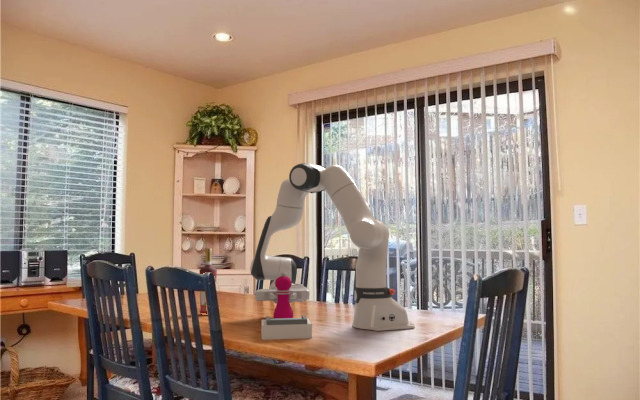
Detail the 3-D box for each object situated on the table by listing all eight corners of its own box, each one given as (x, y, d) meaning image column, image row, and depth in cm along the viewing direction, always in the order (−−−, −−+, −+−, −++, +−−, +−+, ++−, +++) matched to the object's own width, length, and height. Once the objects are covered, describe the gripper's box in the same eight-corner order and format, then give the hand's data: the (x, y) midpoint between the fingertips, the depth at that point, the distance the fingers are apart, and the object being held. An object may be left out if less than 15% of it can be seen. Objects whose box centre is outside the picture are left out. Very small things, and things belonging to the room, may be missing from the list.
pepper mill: (296, 326, 174) (296, 271, 175) (288, 330, 167) (288, 272, 169) (278, 325, 176) (278, 271, 178) (269, 328, 169) (270, 272, 171)
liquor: (217, 313, 206) (217, 248, 209) (215, 315, 199) (216, 248, 201) (199, 313, 205) (200, 248, 208) (197, 316, 198) (198, 248, 201)
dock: (307, 329, 167) (307, 312, 168) (312, 338, 153) (311, 319, 154) (261, 331, 165) (261, 313, 165) (262, 339, 151) (262, 320, 152)
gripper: (254, 285, 184) (254, 288, 170) (306, 284, 187) (311, 287, 173) (254, 301, 183) (254, 306, 170) (306, 300, 186) (311, 305, 173)
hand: (283, 297), depth 171 cm, fingers closed on pepper mill, 5 cm apart
